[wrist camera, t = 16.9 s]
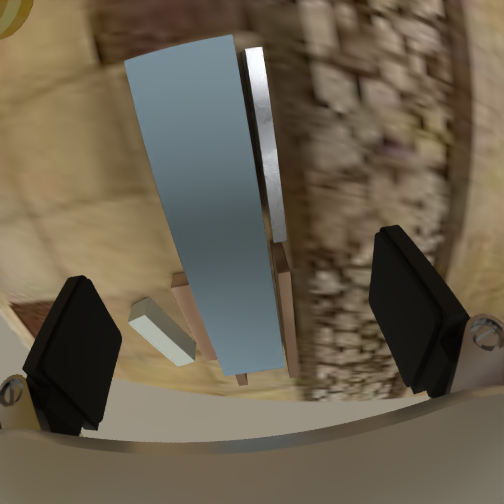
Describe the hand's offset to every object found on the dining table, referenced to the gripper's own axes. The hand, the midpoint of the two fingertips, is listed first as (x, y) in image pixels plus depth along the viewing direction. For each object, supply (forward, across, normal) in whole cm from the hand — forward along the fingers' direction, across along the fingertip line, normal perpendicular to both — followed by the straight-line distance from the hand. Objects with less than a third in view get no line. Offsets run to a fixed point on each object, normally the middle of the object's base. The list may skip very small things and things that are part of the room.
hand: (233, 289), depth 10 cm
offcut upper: (+16, +10, +18) cm, 26 cm away
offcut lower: (+18, +6, +18) cm, 26 cm away
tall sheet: (+17, 0, 0) cm, 17 cm away
